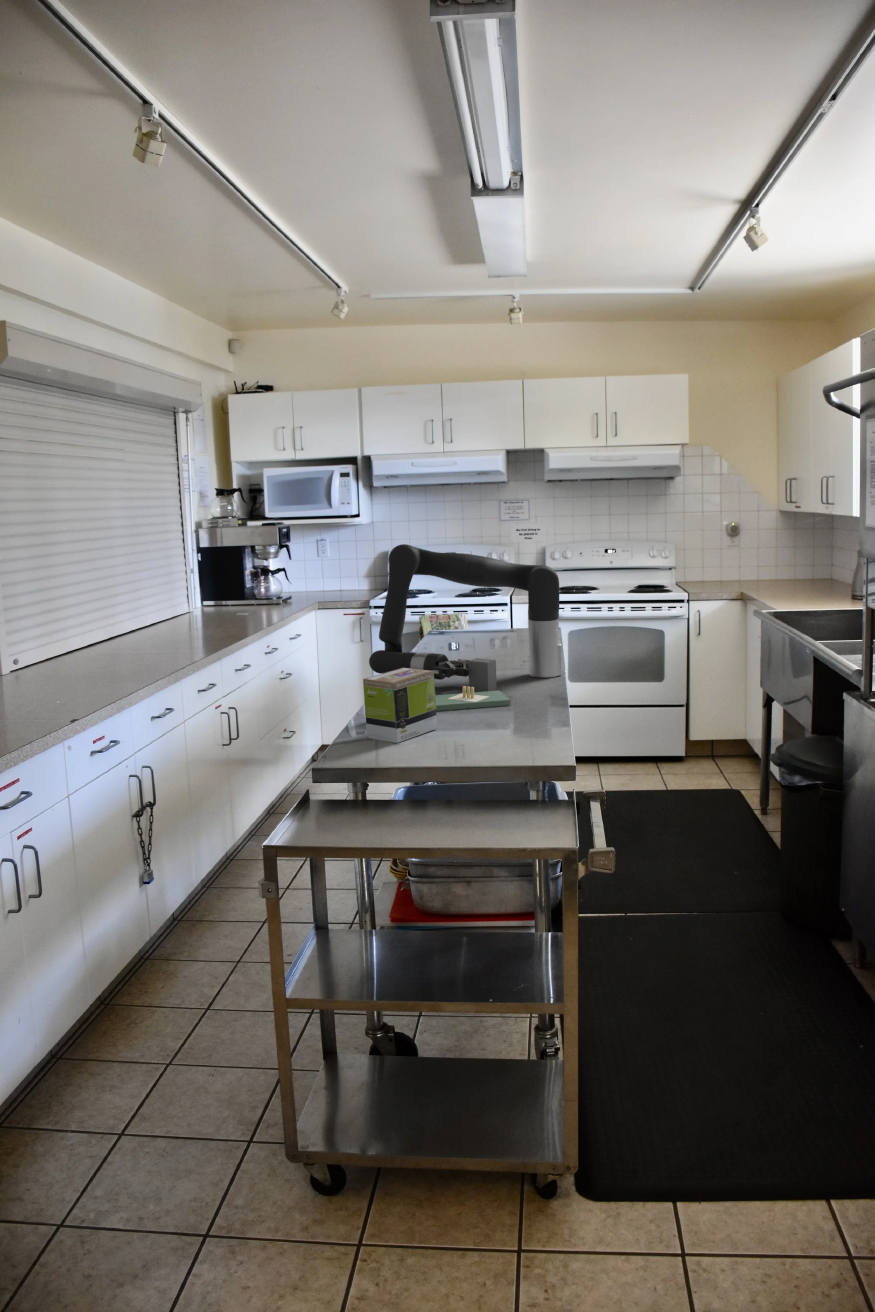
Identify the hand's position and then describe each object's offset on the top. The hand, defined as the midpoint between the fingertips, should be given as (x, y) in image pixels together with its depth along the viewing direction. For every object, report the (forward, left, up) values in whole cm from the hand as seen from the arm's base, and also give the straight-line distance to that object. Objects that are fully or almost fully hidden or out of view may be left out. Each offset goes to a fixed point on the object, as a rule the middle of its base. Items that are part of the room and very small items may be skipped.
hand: (476, 670), depth 268 cm
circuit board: (+6, +15, -6) cm, 17 cm away
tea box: (+28, +41, -6) cm, 49 cm away
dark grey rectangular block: (-1, +2, -6) cm, 6 cm away
